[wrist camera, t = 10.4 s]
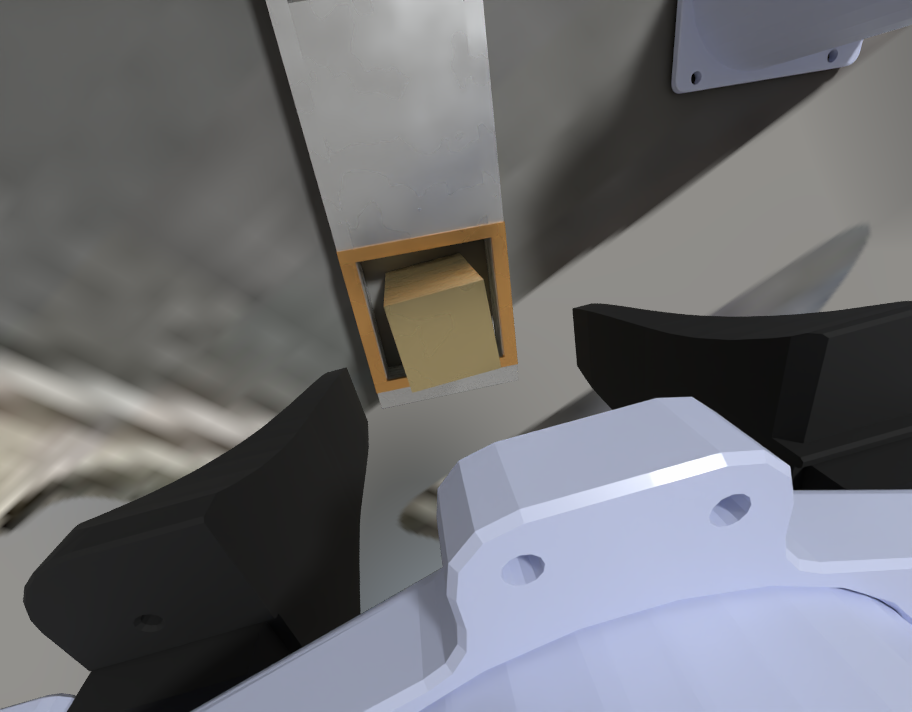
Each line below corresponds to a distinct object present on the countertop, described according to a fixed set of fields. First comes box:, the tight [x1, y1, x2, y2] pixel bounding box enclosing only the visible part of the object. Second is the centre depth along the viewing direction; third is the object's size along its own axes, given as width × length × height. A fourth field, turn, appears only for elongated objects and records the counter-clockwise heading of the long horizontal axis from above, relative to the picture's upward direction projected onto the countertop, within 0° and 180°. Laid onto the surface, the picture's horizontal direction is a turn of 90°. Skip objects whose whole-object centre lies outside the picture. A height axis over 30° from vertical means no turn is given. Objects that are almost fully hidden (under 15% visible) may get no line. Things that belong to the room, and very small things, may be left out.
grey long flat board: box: [265, 0, 518, 409], centre depth 17 cm, size 8×26×2 cm, turn 9°
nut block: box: [384, 253, 501, 393], centre depth 18 cm, size 4×4×6 cm
